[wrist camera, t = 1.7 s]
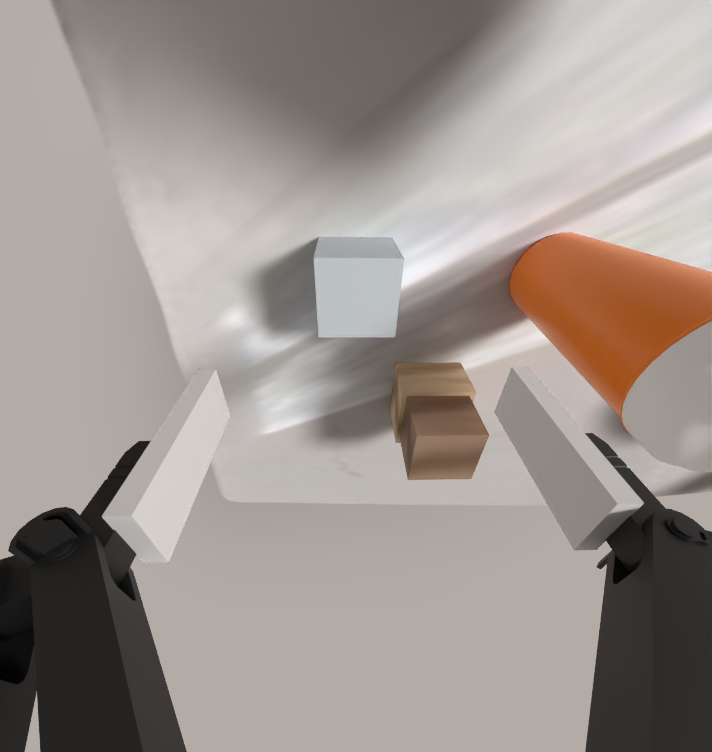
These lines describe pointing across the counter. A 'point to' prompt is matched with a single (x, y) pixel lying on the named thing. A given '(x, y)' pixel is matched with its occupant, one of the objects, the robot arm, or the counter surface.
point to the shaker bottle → (629, 336)
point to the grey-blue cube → (357, 286)
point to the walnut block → (441, 437)
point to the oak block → (426, 386)
